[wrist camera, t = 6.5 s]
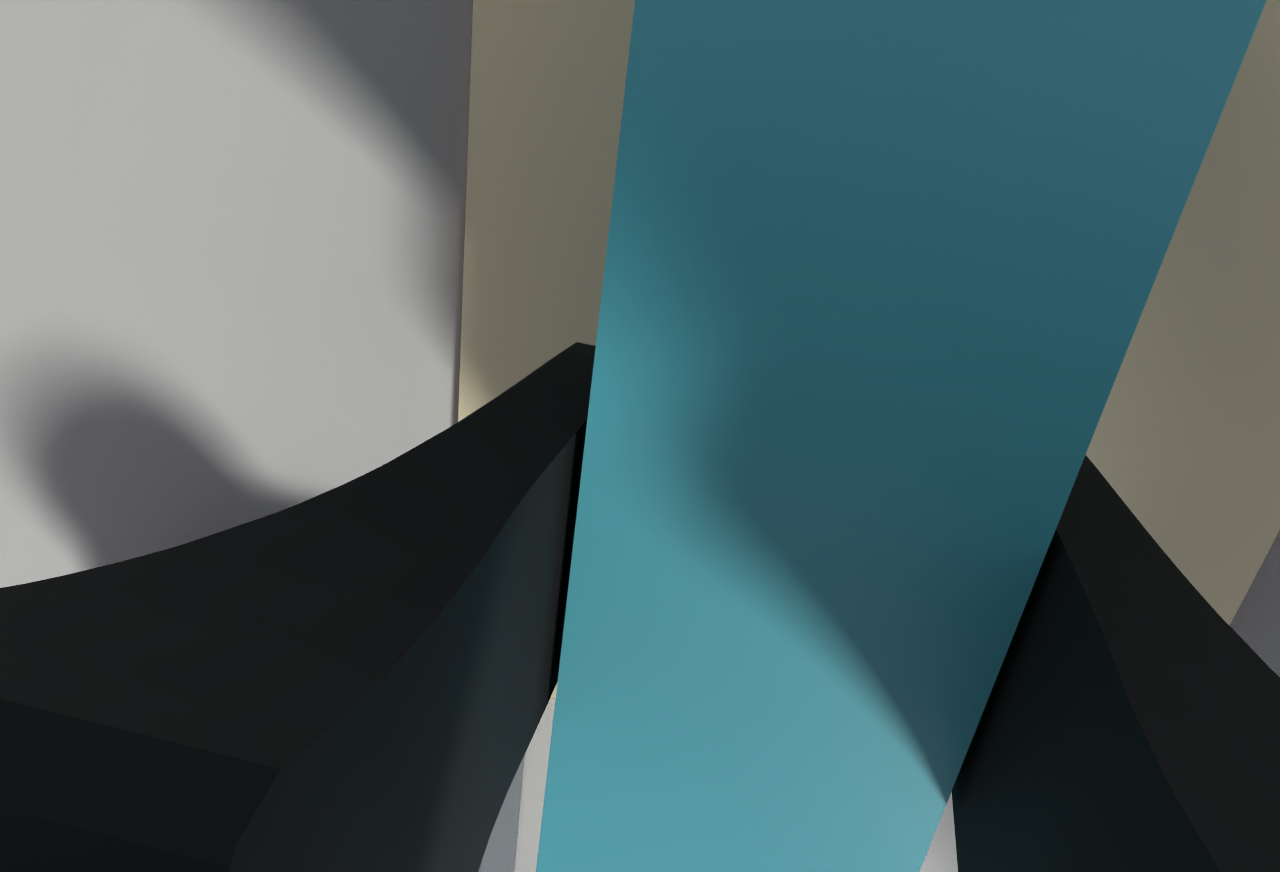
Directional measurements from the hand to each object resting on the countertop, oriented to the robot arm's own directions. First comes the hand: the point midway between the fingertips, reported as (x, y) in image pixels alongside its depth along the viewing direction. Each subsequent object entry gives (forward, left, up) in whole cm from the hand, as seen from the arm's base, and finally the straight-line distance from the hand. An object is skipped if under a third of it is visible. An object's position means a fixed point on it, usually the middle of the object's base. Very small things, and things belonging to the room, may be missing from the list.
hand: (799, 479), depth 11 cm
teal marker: (0, -1, -2) cm, 2 cm away
